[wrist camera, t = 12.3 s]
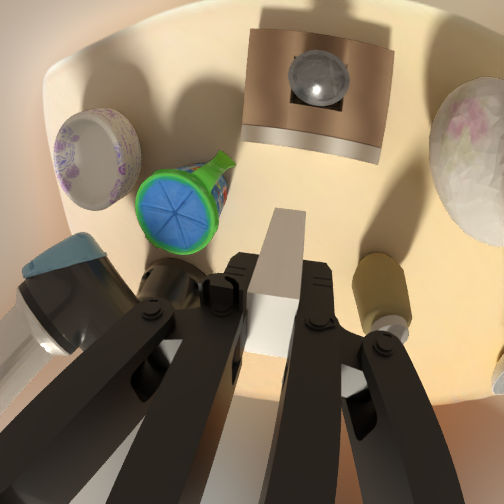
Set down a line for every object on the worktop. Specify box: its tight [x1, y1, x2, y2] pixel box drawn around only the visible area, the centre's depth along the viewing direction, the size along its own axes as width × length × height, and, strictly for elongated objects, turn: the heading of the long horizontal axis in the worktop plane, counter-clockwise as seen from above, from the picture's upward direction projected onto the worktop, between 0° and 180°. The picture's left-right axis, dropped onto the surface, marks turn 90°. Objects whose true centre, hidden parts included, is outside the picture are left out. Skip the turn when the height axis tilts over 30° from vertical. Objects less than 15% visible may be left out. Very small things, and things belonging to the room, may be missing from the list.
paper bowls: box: [54, 108, 142, 211], centre depth 35 cm, size 15×15×8 cm
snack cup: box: [135, 150, 236, 255], centre depth 34 cm, size 16×10×10 cm
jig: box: [241, 29, 395, 165], centre depth 27 cm, size 16×14×4 cm
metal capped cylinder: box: [288, 50, 350, 106], centre depth 23 cm, size 5×5×11 cm
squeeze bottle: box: [352, 252, 412, 344], centre depth 31 cm, size 8×8×18 cm
